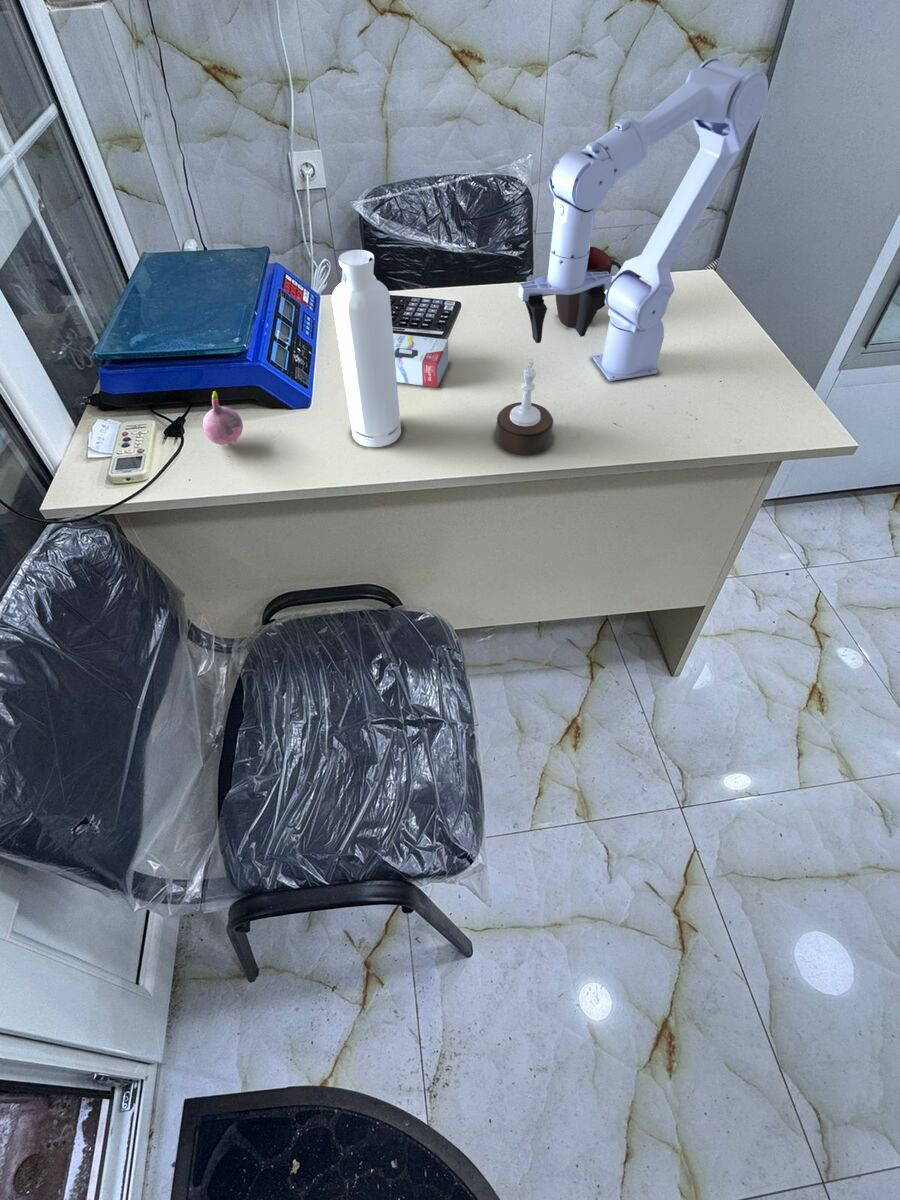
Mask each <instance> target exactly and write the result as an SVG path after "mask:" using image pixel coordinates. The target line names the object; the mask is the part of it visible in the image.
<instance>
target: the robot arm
mask: <svg viewBox="0 0 900 1200" xmlns="http://www.w3.org/2000/svg"><path fill="white" fill-rule="evenodd" d="M768 98H769V80H768V77H767V75H766V74H765V73H764V72H762V71H759V70H757V71H753V70H751V69H747V68H744V67H740V66H737V65H734V64H731V63H727V62H724V61H722V60H720V59H719V58H716V57H710V58H707V59H705V60H703V62H701V63H700V64H699V66H697V67H695V68H692V69H690V71H689V73H688V75H687V77H686V80H685V83H684V84H682V85H681V86H680V87H679V88H678V89H676V90H675V91H673V93H672V94H670V95H669V96H668V97H667V98H665V99H664V100H663V101H662V102H660V103H659V104H658V105H657V106H656V107H654V108H653V109H652V110H650V112H648V113H647V114H646V115H645V116H643V117H642V118H641V119H640V120H637V119H634V118H626V119H624V118H620V119H619V120H617V121H616V122H615V123H614V127H613V128H612V129H610V130H608V131H607V132H605V133H604V134H603V135H602V136H600V137H599V138H597V139H596V140H594V141H591V142H589V143H587V145H586V147H584V148H583V149H582V150H581V151H579V150H570V151H568V152H565V154H564V155H562V156H560V158H559V159H558V160H557V162H556V163H555V165H554V167H553V170H552V174H551V175H549V176H548V187H549V190H550V192H551V194H552V197H553V203H552V207H553V208H554V214H553V215H554V216H553V225H552V234H551V241H550V252H549V261H548V271H547V274H546V275H543V276H539V277H537V278H535V279H531V280H529V281H525V282H520V283H519V284H518V292H517V296H518V298H519V299H520V301H521V302H524V303H525V306H526V309H527V312H528V316H529V320H530V325H531V334H532V339H533V341H534V342H535V343H536V344H541V343H542V339H543V328H544V323H545V322H544V321H545V318H546V314H547V311H548V306H546V304H545V299H544V297H549V296H556V295H557V294H561V295H571V294H576V293H579V292H580V299H579V312H578V318H577V324H576V328H575V330H576V333H577V334H578V336H580V338H582V337H585V336H586V333H587V331H588V329H589V327H590V325H591V323H592V322H591V320H592V318H593V317H594V318H595V316H596V314H597V313H598V311H599V310H600V309H599V308H600V307H601V305H602V304H603V303H604V302H605V304H606V305H605V307H607V308H608V311H607V315H608V316H609V321H608V326H607V330H606V331H607V332H606V337H605V342H604V347H603V352H602V353H601V354H596V355H593V356H592V360H593V361H594V363H595V364H596V366H597V367H598V368H599V369H600V370H601V372H602V373H603V375H604V376H605V377H606V379H607V380H608V381H609V382H613V381H619V380H625V379H632V378H637V377H643V376H645V377H646V376H650V375H656V374H657V373H658V369H657V364H658V361H659V357H660V354H661V350H662V346H663V343H664V340H665V339H664V338H665V328H664V323H663V320H662V319H663V317H664V316H665V313H666V312H667V307H668V305H669V301H670V300H671V297H672V295H673V293H674V292H675V286H674V282H673V277H672V275H671V274H672V273H671V269H672V268H673V266H674V264H675V263H676V261H677V259H678V257H679V256H680V254H681V252H682V251H683V249H684V247H685V245H686V244H687V242H688V240H689V239H690V237H691V236H692V234H693V232H694V230H695V228H696V227H697V225H698V223H699V222H700V220H701V219H702V217H703V215H704V213H705V212H706V211H707V208H708V207H709V205H710V203H711V201H712V199H713V198H714V196H715V194H716V193H717V191H718V190H719V187H720V186H721V184H722V182H723V181H724V180H725V177H726V175H727V174H728V173H729V171H730V169H731V167H732V166H733V164H734V162H735V161H736V159H737V158H738V155H739V153H740V152H741V150H742V149H743V148H744V147H745V144H746V143H747V141H748V139H749V138H750V136H751V134H752V133H753V131H754V130H755V128H756V126H757V124H758V122H759V121H760V119H761V118H762V116H763V115H764V112H766V111H765V110H766V109H767V108H768V101H769V100H768ZM691 123H693V126H694V129H695V132H696V134H697V135H698V140H699V150H698V152H697V153H696V155H695V157H694V159H693V161H692V163H691V164H690V166H689V168H688V169H687V172H686V173H685V175H684V177H683V179H682V180H681V182H680V184H679V186H678V188H677V190H676V191H675V193H674V195H673V197H672V198H671V200H670V202H669V204H668V206H667V207H666V209H665V211H664V213H663V214H662V216H661V218H660V220H659V221H658V223H657V226H656V227H655V229H654V231H653V232H652V234H651V236H650V238H649V240H648V242H647V244H645V247H644V248H643V250H642V252H641V254H640V255H637V256H634V257H632V258H629V259H626V260H625V261H623V263H622V265H621V266H622V267H621V269H620V271H619V270H618V272H617V273H616V274H615V275H614V276H612V275H611V273H610V274H609V273H608V272H586V271H587V264H588V258H589V251H590V247H591V243H592V236H593V231H594V225H595V218H596V212H597V208H599V206H601V204H602V203H603V202H604V200H605V199H606V197H607V195H608V193H609V192H610V190H611V189H612V188H613V187H614V185H615V184H616V182H618V181H619V180H620V179H622V178H623V177H626V175H627V174H629V173H630V172H632V171H633V170H635V169H636V168H638V167H639V166H640V165H642V164H643V163H644V162H645V161H646V159H647V158H648V155H649V151H650V147H653V146H654V145H655V144H657V143H659V142H660V141H662V140H664V139H665V138H667V137H669V136H671V135H672V134H674V133H676V132H677V131H679V130H680V129H683V128H684V127H685V126H687V125H689V124H691ZM640 278H643V279H644V280H646V281H648V282H649V283H650V284H649V283H647V282H646V281H644V280H642V279H640ZM603 290H605V293H604V292H603ZM598 309H599V310H598ZM595 313H596V314H595ZM594 315H595V316H594ZM594 318H593V319H594ZM592 321H593V320H592ZM590 322H591V323H590Z"/></svg>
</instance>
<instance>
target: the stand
mask: <svg viewBox="0 0 900 1200" xmlns="http://www.w3.org/2000/svg"><path fill="white" fill-rule="evenodd" d="M521 404H522V401H520V402H519V401H518V402H513V403H511V404H508V405H506V406H505V407H503V408H502V409H501V410H500V411H499V412H498V414H497V417H496V428H495V440H496V443H497V445H498V446H499V447H500V448H501V449H502V450H504V451H505V452H508V453H510V454H511V455H515V456H533V455H537V454H540V453H542V452H544V451H545V450H546V449H548V448H549V446H550V444H551V440H552V434H553V427H554V418H553V416H552V414H551V413H550V411H549V410H548V409H547V408H546V407H544V406H542V405H540V404H538V403H534V402H531V406H534V407H536V408H537V409H538V410H539V411H540V416H541V419H540V421H539V422H538V423H537V424H535V425H533V426H528V427H524V426H519V425H516V424H514V423H513V422H512V421H511V420H510V412H511V410H512V409H513V408H514V407H516V406H518V405H521Z"/></svg>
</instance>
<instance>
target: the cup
mask: <svg viewBox="0 0 900 1200" xmlns="http://www.w3.org/2000/svg"><path fill="white" fill-rule="evenodd" d="M613 266H615V267H617V268H618V272H619V271H620V269H621V267H622V266H623V265H621V264H620V263H619V262H618V261H616V260H614V259H612V258H611V257H610V256H609V254H607V252H605V251H604V250H602V249H600V248H598V247H596V246H590V251H589V258H588V264H587V271H586V272H608V273H609V274H610V275H611V272H612V269H613V268H612V267H613ZM603 292H604V293H605V290H603ZM579 299H580V292H579V293H576V294H571V295H561V294H557V295H555V303H556V310H557V315H558V320H559V321H560V323H561V324H562V325H563V326H565V327H566V328H568V329H569V328H570V329H576V324H577V318H578V312H579ZM604 307H606V304H605V302H604V303H603V304H602V305H601V307H600V308H599V309H598V310H597V311H599V310H601V309H602V308H604ZM596 315H597V312H596V313H595V315H594V317H593V318H592V320H591V322H590V324H591V323H592V322H593V320H594V318H595V316H596Z"/></svg>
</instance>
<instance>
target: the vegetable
mask: <svg viewBox="0 0 900 1200" xmlns="http://www.w3.org/2000/svg"><path fill="white" fill-rule="evenodd" d="M211 404H212V409H210V410H208V411H207V413H205V415H204V417H203V420H202V428H203V431H204V434H205V435H206V437H207V438H208V440H209V441H211V442H212V443H213V444H216V445H219V446H232V445H233V444H235V443H236V442H237V441H238V440H239V439H240V437H241V435H242V433H243V428H244V424H243V419H242V418H241V416H240V414H239V413H238V412H236V411H235V410H234V409H233V408H231V407H227V406H220V402H219V396H218V393H217V392H216V390H214V391H212V395H211Z"/></svg>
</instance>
